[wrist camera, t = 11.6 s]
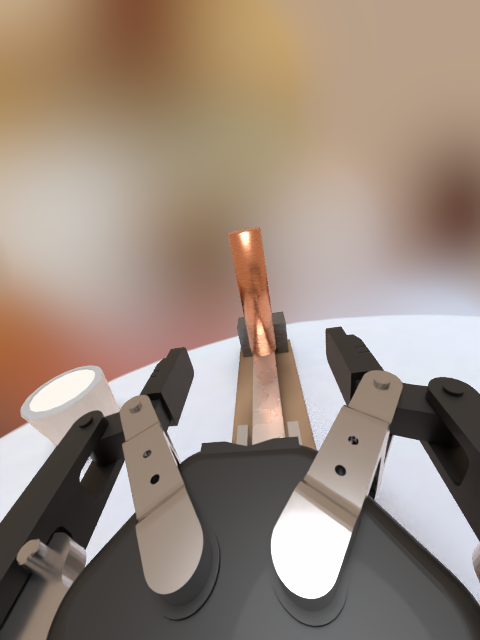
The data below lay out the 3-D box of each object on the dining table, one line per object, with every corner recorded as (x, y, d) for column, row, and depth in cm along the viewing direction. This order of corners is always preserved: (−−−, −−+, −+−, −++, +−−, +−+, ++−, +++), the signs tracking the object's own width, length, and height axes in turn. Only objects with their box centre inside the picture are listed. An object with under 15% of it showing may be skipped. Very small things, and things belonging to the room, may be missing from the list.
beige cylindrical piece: (47, 476, 22) (-2, 428, 19) (78, 418, 28) (46, 374, 25) (120, 455, 22) (85, 404, 19) (135, 402, 29) (111, 357, 25)
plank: (290, 345, 33) (289, 339, 33) (392, 775, 8) (395, 776, 8) (242, 350, 34) (241, 345, 34) (209, 752, 9) (203, 752, 9)
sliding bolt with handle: (275, 340, 32) (259, 222, 25) (295, 481, 16) (266, 266, 9) (254, 343, 33) (232, 227, 25) (253, 482, 17) (195, 278, 10)
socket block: (285, 339, 33) (282, 311, 31) (288, 352, 30) (285, 322, 28) (244, 344, 34) (238, 317, 32) (243, 357, 31) (237, 328, 29)
